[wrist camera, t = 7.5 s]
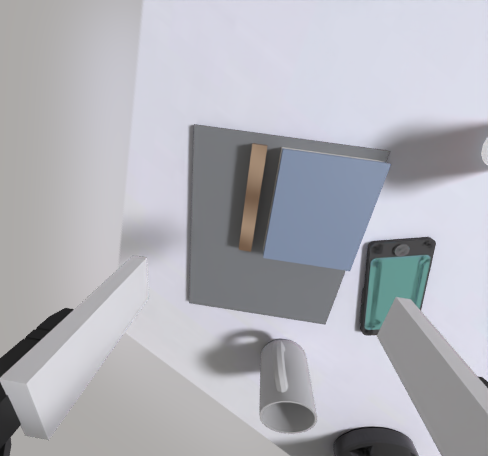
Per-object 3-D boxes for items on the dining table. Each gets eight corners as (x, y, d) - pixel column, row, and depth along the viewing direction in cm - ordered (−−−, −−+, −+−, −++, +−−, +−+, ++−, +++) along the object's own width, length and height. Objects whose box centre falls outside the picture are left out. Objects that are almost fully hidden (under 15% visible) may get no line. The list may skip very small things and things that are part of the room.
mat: (324, 321, 33) (325, 324, 33) (190, 300, 34) (189, 303, 33) (387, 150, 23) (390, 151, 23) (195, 124, 24) (194, 124, 23)
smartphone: (438, 239, 26) (416, 335, 32) (430, 234, 27) (411, 328, 33) (369, 244, 27) (361, 336, 33) (365, 240, 28) (357, 329, 34)
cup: (265, 370, 39) (265, 434, 31) (252, 327, 35) (248, 388, 27) (308, 366, 38) (320, 432, 30) (299, 322, 34) (310, 384, 26)
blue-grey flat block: (263, 247, 29) (343, 259, 28) (263, 258, 26) (349, 271, 26) (281, 146, 24) (378, 160, 23) (283, 149, 21) (391, 164, 21)
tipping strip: (251, 245, 29) (250, 251, 27) (239, 243, 29) (238, 249, 27) (267, 145, 24) (267, 146, 22) (253, 143, 24) (252, 144, 22)
